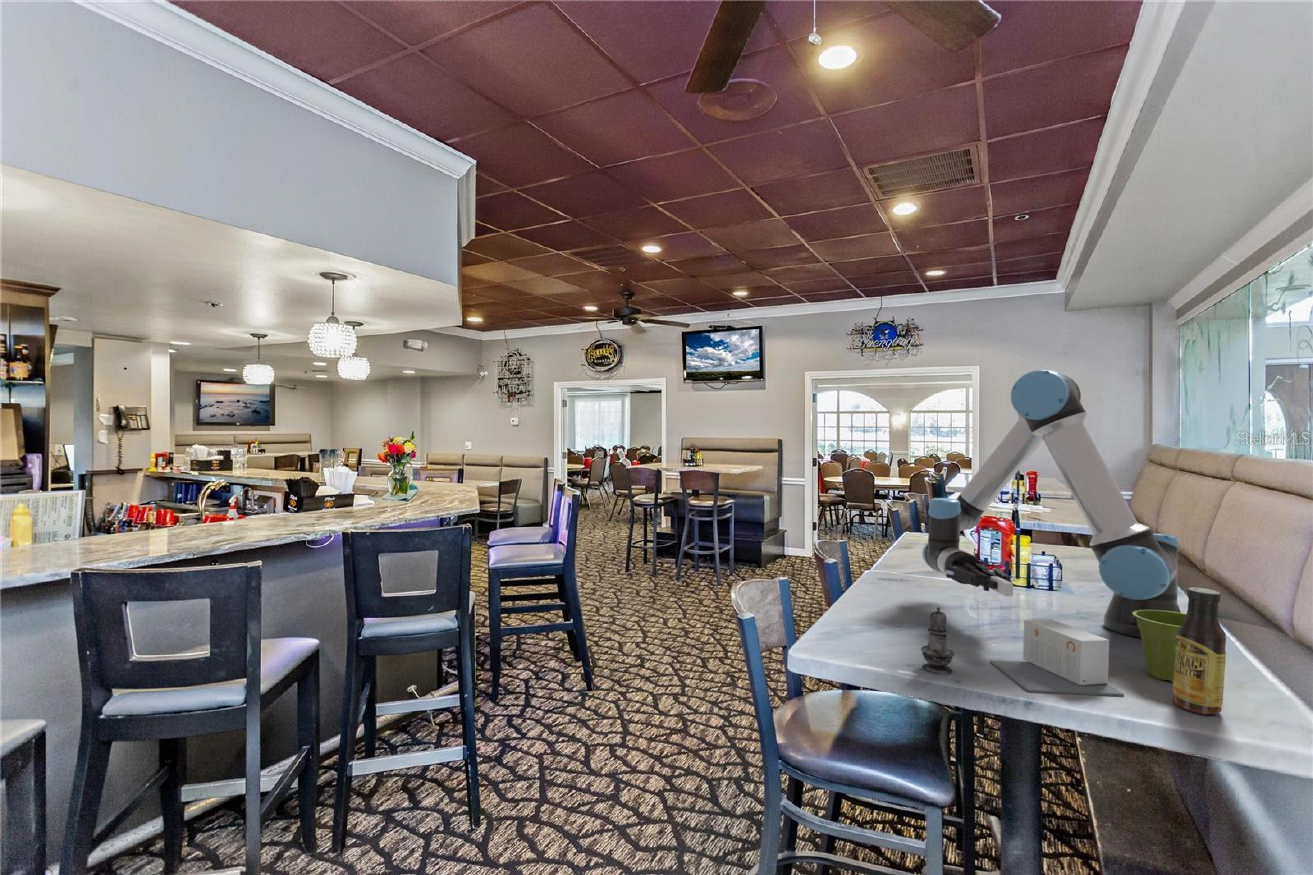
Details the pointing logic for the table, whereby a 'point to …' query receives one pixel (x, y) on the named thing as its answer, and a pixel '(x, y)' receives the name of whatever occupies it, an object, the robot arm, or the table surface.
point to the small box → (1066, 651)
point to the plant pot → (1159, 640)
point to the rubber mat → (1048, 680)
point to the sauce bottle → (1200, 655)
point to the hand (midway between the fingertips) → (1009, 589)
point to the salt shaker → (937, 646)
